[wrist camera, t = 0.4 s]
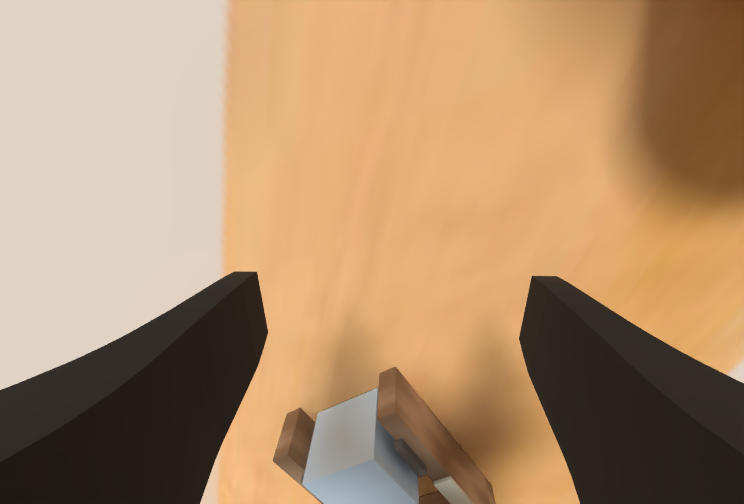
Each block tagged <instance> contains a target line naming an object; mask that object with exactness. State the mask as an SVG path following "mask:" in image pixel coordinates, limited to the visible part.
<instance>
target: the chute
mask: <svg viewBox="0 0 744 504" xmlns="http://www.w3.org/2000/svg"><path fill="white" fill-rule="evenodd" d="M377 420H378V421H379V422H380V424H381V425H382V426H383V427H384V428H385V429H386V430H387V431H388V432H389V433H390V435H391V436H392V437H393V438H394V449H395V450H396V451H397V452H398V453H399V454H400V456H401V457H402V458H403V459H404V460H405V461H406V462H407V463H408V464H409V465H410V466H411V467H412V469H413V470H414V471H415V472H416V473H417V474H418V475H419V476H420V477H421V476H424V475H428V476H429V478H430V479H431V480H432V481H433V485H434V486H435V487H436V488H437V489H438V490H439V491H438V492H435V493H431V494H428V495H425V496H422V497H419V504H496V503H495V499H494V494H493V489H492V485H491V484H490V483H489V482H488V480H487V479H486V478H485V477H484V475H483V474H482V473H481V472H480V470H479V469H478V468H477V467H476V466H475V464H474V463H473V462H472V461H471V459H470V458H469V457H468V456H467V454H466V453H465V452H464V451H463V449H462V448H461V447H460V446H459V445H458V443H457V442H456V441H455V440H454V438H453V437H452V436H451V435H450V433H449V432H448V431H447V430H446V428H445V427H444V426H443V425H442V424H441V422H440V421H439V420H438V419H437V417H436V416H435V415H434V414H433V412H432V411H431V410H430V409H429V408H428V406H427V405H426V404H425V403H424V401H423V400H422V399H421V398H420V396H419V395H418V394H417V393H416V391H415V390H414V389H413V388H412V387H411V385H410V384H409V383H408V382H407V380H406V379H405V378H404V377H403V375H402V374H401V373H400V372H399V370H398V369H397V368H396V367H394V368H391V369H389V370H387V371H385V372H382V373H380V376H379V395H378V413H377ZM314 428H315V422H314V421H313V420H312V419H311V418H310V417H309V416H308V415H307V414H306V413H305V412H304V411H303V410H302V409H300V408H299V409H297V410H295V411H292V412H290V413H288V414H287V415H286V419H285V422H284V425H283V428H282V432H281V435H280V438H279V442H278V445H277V448H276V452H275V455H274V458H273V462H275V463H276V464H277V465H278V466H279V467H280V468H282V469H283V470H284V471H285V472H286V473H287V474H288V475H290V476H291V477H292V478H293V479H294V480H295V481H296V482H298V483H299V484H300V485H301V486H302V487H303V488H305V489H306V490H307V491H308V492H309V493H310V494H311V495H313V496H314V497H315V498H316V499H317V500H318V501H319V502H321V503H322V504H324V503H323V502H322V501H320V500H319V499H318V498H317V497H316V496H315V495H314V494H312V493H311V492H310V491H309V490H308V489H307V488H306V487H304V486H303V485H302V483H303V478H304V473H305V469H306V464H307V460H308V455H309V451H310V446H311V442H312V437H313V432H314Z"/></svg>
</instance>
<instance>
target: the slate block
mask: <svg viewBox="0 0 744 504" xmlns="http://www.w3.org/2000/svg"><path fill="white" fill-rule="evenodd" d="M378 395H379V389H378V388H376V389H373V390H371V391H369V392H366V393H364V394H361V395H359V396H357V397H354V398H352V399H350V400H347V401H345V402H343V403H340V404H338V405H335V406H333V407H331V408H328V409H326V410H324V411H321V412H319V413H318V414H317V419H316V423H315V428H314V432H313V437H312V442H311V446H310V451H309V455H308V460H307V464H306V469H305V473H304V478H303V483H302V485H303V486H304V487H306V488H307V489H308V490H309V491H310V492H311V493H312V494H314V495H315V496H316V497H317V498H318V499H319V500H320V501H322V502H323V503H324V504H419V491H418V474H417V473H416V472H415V471H414V470H413V469H412V467H411V466H410V465H409V464H408V463H407V462H406V461H405V460H404V459H403V458H402V457H401V456H400V454H399V453H398V452H397V451H396V450H395V449H394V438H393V437H392V436H391V435H390V433H389V432H388V431H387V430H386V429H385V428H384V427H383V426H382V425H381V424H380V422H379V421H378V420H377V413H378Z"/></svg>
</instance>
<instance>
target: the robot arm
mask: <svg viewBox="0 0 744 504" xmlns="http://www.w3.org/2000/svg"><path fill="white" fill-rule="evenodd" d="M267 334H268V329H267V324H266V319H265V313H264V308H263V302H262V297H261V291H260V286H259V281H258V275H257V272H233V273H231V274H229V275H227V276H225V277H223V278H222V279H220V280H218V281H217V282H215V283H213V284H212V285H210V286H208V287H207V288H205V289H203V290H202V291H201V292H199V293H197V294H195V295H194V296H192V297H190V298H189V299H187V300H186V301H184V302H182V303H181V304H179V305H177V306H176V307H174V308H173V309H171V310H169V311H168V312H166V313H164V314H162V315H160V316H159V317H157V318H155V319H153V320H152V321H150V322H148V323H146V324H145V325H143V326H141V327H139V328H138V329H136V330H134V331H132V332H130V333H129V334H127V335H125V336H123V337H121V338H119V339H117V340H115V341H113V342H111V343H109V344H107V345H105V346H103V347H101V348H99V349H97V350H95V351H92V352H90V353H88V354H86V355H84V356H82V357H80V358H78V359H75V360H73V361H71V362H69V363H66V364H64V365H61V366H59V367H57V368H54V369H52V370H49V371H47V372H44V373H42V374H39V375H37V376H35V377H32V378H30V379H27V380H25V381H22V382H20V383H18V384H15V385H13V386H10V387H8V388H5V389H2V390H0V504H200V502H201V499H202V496H203V493H204V490H205V487H206V485H207V482H208V479H209V476H210V473H211V470H212V467H213V465H214V462H215V459H216V457H217V454H218V452H219V450H220V447H221V445H222V442H223V440H224V438H225V436H226V434H227V432H228V429H229V427H230V425H231V423H232V421H233V419H234V417H235V414H236V412H237V410H238V408H239V406H240V404H241V402H242V399H243V397H244V395H245V393H246V391H247V389H248V386H249V384H250V382H251V380H252V378H253V375H254V373H255V371H256V369H257V366H258V364H259V361H260V358H261V355H262V351H263V348H264V345H265V341H266V338H267ZM519 340H520V344H521V348H522V352H523V356H524V359H525V363H526V366H527V370H528V373H529V376H530V378H531V381H532V383H533V385H534V388H535V390H536V393H537V395H538V397H539V400H540V402H541V404H542V407H543V409H544V411H545V414H546V416H547V418H548V421H549V423H550V425H551V428H552V430H553V432H554V435H555V437H556V439H557V441H558V444H559V446H560V448H561V451H562V453H563V455H564V458H565V461H566V463H567V466H568V468H569V471H570V474H571V476H572V479H573V482H574V485H575V489H576V492H577V495H578V498H579V501H580V504H744V383H742V382H739V381H737V380H735V379H733V378H731V377H729V376H727V375H725V374H723V373H721V372H719V371H717V370H715V369H713V368H711V367H709V366H707V365H705V364H703V363H701V362H699V361H697V360H695V359H693V358H692V357H690V356H688V355H686V354H684V353H682V352H680V351H679V350H677V349H675V348H673V347H672V346H670V345H668V344H666V343H665V342H663V341H661V340H659V339H658V338H656V337H654V336H652V335H651V334H649V333H647V332H646V331H644V330H642V329H641V328H639V327H637V326H636V325H634V324H632V323H631V322H629V321H628V320H626V319H624V318H623V317H621V316H620V315H618V314H616V313H615V312H613V311H612V310H610V309H609V308H607V307H605V306H604V305H602V304H601V303H599V302H598V301H596V300H595V299H593V298H592V297H590V296H588V295H587V294H585V293H584V292H582V291H581V290H579V289H577V288H576V287H574V286H573V285H571V284H569V283H568V282H566V281H564V280H563V279H561V278H559V277H557V276H532V278H531V283H530V288H529V293H528V298H527V303H526V307H525V312H524V317H523V322H522V327H521V332H520V337H519Z"/></svg>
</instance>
